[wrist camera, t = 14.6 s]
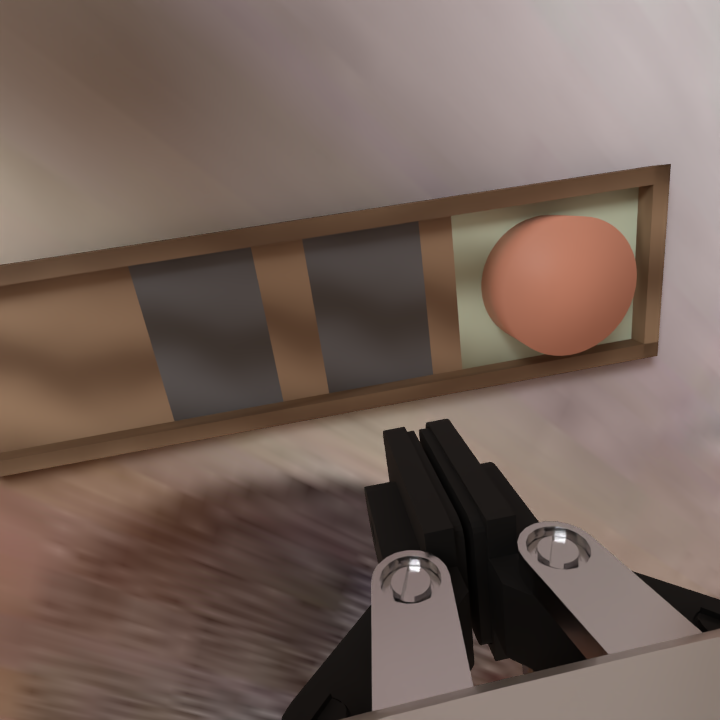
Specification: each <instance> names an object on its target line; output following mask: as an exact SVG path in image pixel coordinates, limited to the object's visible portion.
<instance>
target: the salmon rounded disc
mask: <svg viewBox="0 0 720 720" xmlns="http://www.w3.org/2000/svg"><path fill="white" fill-rule="evenodd" d="M636 280H637V268H636V261H635V257H634V254H633V251H632V249H631V246H630V244H629V243H628V241H627V239H626V238H625V237H624V236H623V234H622V233H621V232H620V231H619V230H618V229H616V228H615V227H614V226H613V225H611V224H609V223H608V222H606V221H603V220H601V219H598V218H593V217H587V216H567V215H540V216H536V217H532V218H529V219H526V220H524V221H522V222H520V223H518V224H517V225H515V226H514V227H512V228H511V229H509V230H508V231H507V232H506V233H505V234H504V235H503V236H502V237H501V238H500V239H499V240H498V241H497V243H496V244H495V246H494V247H493V249H492V250H491V252H490V254H489V256H488V258H487V261H486V263H485V266H484V270H483V274H482V281H481V291H482V298H483V302H484V306H485V308H486V311H487V313H488V315H489V316H490V318H491V319H492V321H493V322H494V323H495V324H496V325H497V326H498V327H499V328H500V329H501V330H503V331H504V332H505V333H507V334H509V335H510V336H512V337H513V338H515V339H517V340H518V341H520V342H522V343H523V344H525V345H526V346H528V347H530V348H531V349H533V350H535V351H538V352H540V353H543V354H547V355H553V356H565V355H572V354H576V353H580V352H582V351H585V350H588V349H590V348H591V347H593V346H595V345H597V344H598V343H600V342H601V341H603V340H604V339H605V338H606V337H608V336H609V335H610V334H611V333H612V332H613V331H614V330H615V329H616V327H617V326H618V325H619V324H620V322H621V321H622V320H623V318H624V316H625V315H626V313H627V311H628V309H629V307H630V305H631V302H632V299H633V297H634V292H635V288H636Z"/></svg>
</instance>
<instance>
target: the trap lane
mask: <svg viewBox="0 0 720 720" xmlns="http://www.w3.org/2000/svg"><path fill="white" fill-rule="evenodd" d="M670 168H671V164H666V165H656V166H648V167H642V168H635V169H629V170H622V171H615V172H609V173H602V174H596V175H589V176H583V177H576V178H569V179H563V180H556V181H550V182H543V183H536V184H530V185H523V186H517V187H510V188H504V189H497V190H490V191H484V192H477V193H471V194H464V195H458V196H451V197H444V198H438V199H431V200H425V201H418V202H412V203H405V204H398V205H392V206H385V207H379V208H372V209H366V210H359V211H352V212H346V213H339V214H333V215H326V216H319V217H313V218H306V219H300V220H293V221H287V222H280V223H273V224H267V225H260V226H254V227H247V228H241V229H234V230H227V231H221V232H214V233H208V234H201V235H195V236H188V237H181V238H175V239H168V240H162V241H155V242H149V243H142V244H135V245H129V246H122V247H116V248H109V249H102V250H96V251H89V252H83V253H76V254H70V255H63V256H56V257H50V258H43V259H37V260H30V261H24V262H17V263H10V264H4V265H0V477H1V476H6V475H12V474H17V473H23V472H28V471H34V470H39V469H44V468H50V467H55V466H61V465H66V464H72V463H77V462H83V461H88V460H93V459H99V458H104V457H110V456H115V455H121V454H126V453H131V452H137V451H142V450H148V449H153V448H159V447H164V446H169V445H175V444H180V443H186V442H191V441H197V440H202V439H208V438H213V437H218V436H224V435H229V434H235V433H240V432H246V431H251V430H256V429H262V428H267V427H273V426H278V425H284V424H289V423H295V422H300V421H305V420H311V419H316V418H322V417H327V416H333V415H338V414H343V413H349V412H354V411H360V410H365V409H371V408H376V407H381V406H387V405H392V404H398V403H403V402H409V401H414V400H420V399H425V398H430V397H436V396H441V395H447V394H452V393H458V392H463V391H468V390H474V389H479V388H485V387H490V386H496V385H501V384H506V383H512V382H517V381H523V380H528V379H534V378H539V377H545V376H550V375H555V374H561V373H566V372H572V371H577V370H583V369H588V368H593V367H599V366H604V365H610V364H615V363H621V362H626V361H631V360H637V359H642V358H648V357H653V356H657V354H658V340H659V325H660V311H661V297H662V282H663V268H664V254H665V239H666V225H667V211H668V196H669V182H670ZM540 215H567V216H587V217H593V218H598V219H601V220H603V221H606V222H608V223H609V224H611V225H613V226H614V227H615V228H616V229H618V230H619V231H620V232H621V233H622V234H623V236H624V237H625V238H626V239H627V241H628V243H629V244H630V246H631V249H632V251H633V254H634V257H635V261H636V268H637V280H636V288H635V292H634V297H633V299H632V302H631V305H630V307H629V309H628V311H627V313H626V315H625V316H624V318H623V320H622V321H621V322H620V324H619V325H618V326H617V327H616V329H615V330H614V331H613V332H612V333H611V334H610V335H609V336H608V337H606V338H605V339H604V340H603V341H601V342H600V343H598V344H597V345H595V346H593V347H591V348H590V349H588V350H585V351H582V352H580V353H576V354H572V355H565V356H553V355H547V354H543V353H540V352H538V351H535V350H533V349H531V348H530V347H528V346H526V345H525V344H523V343H522V342H520V341H518V340H517V339H515V338H513V337H512V336H510V335H509V334H507V333H505V332H504V331H503V330H501V329H500V328H499V327H498V326H497V325H496V324H495V323H494V322H493V321H492V319H491V318H490V316H489V315H488V313H487V311H486V308H485V306H484V302H483V298H482V291H481V281H482V274H483V270H484V266H485V263H486V261H487V258H488V256H489V254H490V252H491V250H492V249H493V247H494V246H495V244H496V243H497V241H498V240H499V239H500V238H501V237H502V236H503V235H504V234H505V233H506V232H507V231H508V230H509V229H511V228H512V227H514V226H515V225H517V224H518V223H520V222H522V221H524V220H526V219H529V218H532V217H536V216H540Z"/></svg>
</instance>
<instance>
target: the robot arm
mask: <svg viewBox="0 0 720 720" xmlns="http://www.w3.org/2000/svg"><path fill="white" fill-rule="evenodd" d="M419 437H420V442H419V440H418V438H417V436H416V434H415V432H414V431H410V432H407V431H406V429H405V427H401V428H396V429H390V430H385V431H383V438H384V445H385V452H386V460H387V467H388V474H389V481H390V482H387V483H382V484H377V485H372V486H367V487H364V489H365V497H366V503H367V509H368V515H369V521H370V527H371V532H372V537H373V542H374V546H375V551H376V555H377V559H378V566H377V567H376V569H375V570H374V572H373V575H372V581H371V606H370V607H369V608H368V609H367V610H366V612H365V613H364V614H363V615H362V617H361V618H360V619H359V620H358V621H357V623H356V624H355V625H354V626H353V628H352V629H351V630H350V631H349V632H348V634H347V635H346V636H345V637H344V639H343V640H342V641H341V642H340V643H339V645H338V646H337V647H336V648H335V650H334V651H333V652H332V653H331V654H330V656H329V657H328V658H327V659H326V661H325V662H324V663H323V664H322V665H321V667H320V668H319V669H318V670H317V672H316V673H315V674H314V675H313V676H312V678H311V679H310V680H309V681H308V683H307V684H306V685H305V686H304V687H303V689H302V690H301V691H300V692H299V694H298V695H297V696H296V697H295V698H294V700H293V701H292V702H291V704H290V705H289V707H288V708H287V710H286V712H285V713H284V715H283V717H282V720H720V600H719V599H716V598H713V597H710V596H707V595H704V594H701V593H698V592H694V591H691V590H688V589H685V588H682V587H679V586H676V585H673V584H670V583H667V582H664V581H661V580H658V579H655V578H652V577H648V576H645V575H642V574H639V573H636V572H633V571H631V570H630V569H629V568H628V567H626V566H625V565H624V564H623V563H622V562H621V561H619V560H618V559H617V558H616V557H615V556H614V555H613V554H611V553H610V552H609V551H608V550H607V549H606V548H605V547H603V546H602V545H601V544H600V543H599V542H598V541H596V540H595V539H594V538H593V537H592V536H591V535H589V534H588V533H586V532H585V531H583V530H582V529H580V528H578V527H575V526H573V525H571V524H567V523H562V522H557V521H544V522H538V520H537V519H536V518H535V516H534V515H533V514H532V512H531V511H530V510H529V508H528V507H527V506H526V504H525V503H524V502H523V501H522V499H521V498H520V497H519V495H518V494H517V493H516V491H515V490H514V489H513V487H512V486H511V485H510V483H509V482H508V481H507V479H506V478H505V477H504V476H503V474H502V473H501V472H500V470H499V469H498V468H497V466H496V465H495V464H494V463H492V462H488V463H483V464H480V463H479V462H478V460H477V459H476V457H475V456H474V455H473V453H472V452H471V450H470V449H469V447H468V446H467V445H466V443H465V442H464V440H463V439H462V437H461V436H460V435H459V433H458V432H457V430H456V429H455V428H454V426H453V425H452V423H451V422H450V420H449V419H443V420H438V421H432V422H427V423H426V429H420V430H419ZM472 629H473V631H474V634H475V636H476V638H477V641H478V643H479V644H480V645H484V644H488V645H489V647H490V650H491V652H492V654H493V656H494V659H495V661H498V660H503V659H507V658H510V659H512V660H514V661H516V662H519V663H521V664H522V668H523V674H524V675H520V676H515V677H511V678H507V679H503V680H499V681H494V682H490V683H486V684H482V685H478V686H474V687H473V683H472V678H471V673H470V671H471V669H472V667H473V666H474V653H473V636H472Z"/></svg>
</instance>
